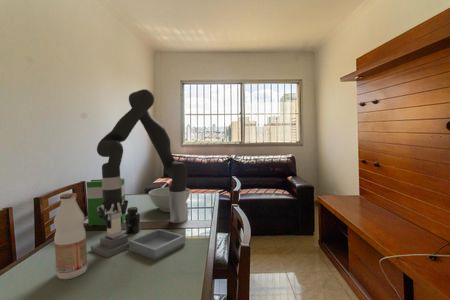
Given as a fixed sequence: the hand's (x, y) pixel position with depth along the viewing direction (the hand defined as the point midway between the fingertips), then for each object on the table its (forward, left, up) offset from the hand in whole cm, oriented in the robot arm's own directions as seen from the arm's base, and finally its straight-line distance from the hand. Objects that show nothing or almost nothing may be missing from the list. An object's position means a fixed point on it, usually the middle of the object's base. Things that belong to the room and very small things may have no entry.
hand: (113, 226), depth 109 cm
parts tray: (-10, +16, -9) cm, 21 cm away
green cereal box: (-17, -33, -10) cm, 38 cm away
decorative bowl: (-54, -22, -10) cm, 59 cm away
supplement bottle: (-16, -9, -10) cm, 21 cm away
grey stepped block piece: (0, 0, -9) cm, 9 cm away
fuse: (0, 0, -4) cm, 4 cm away
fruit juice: (+20, +6, -10) cm, 23 cm away
